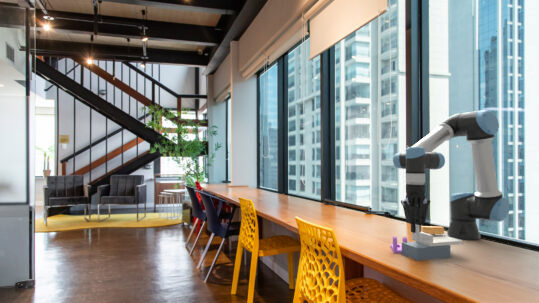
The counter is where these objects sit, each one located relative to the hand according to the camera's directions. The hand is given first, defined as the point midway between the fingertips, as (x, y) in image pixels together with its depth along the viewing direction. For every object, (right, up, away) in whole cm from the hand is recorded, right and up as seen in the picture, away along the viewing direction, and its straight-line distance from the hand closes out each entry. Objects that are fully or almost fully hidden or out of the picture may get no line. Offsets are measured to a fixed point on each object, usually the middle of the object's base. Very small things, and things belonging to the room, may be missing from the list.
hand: (415, 240), depth 146 cm
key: (+14, -6, +13) cm, 20 cm away
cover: (+11, -2, +3) cm, 12 cm away
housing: (+7, -7, +5) cm, 11 cm away
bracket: (-3, -8, +12) cm, 14 cm away
